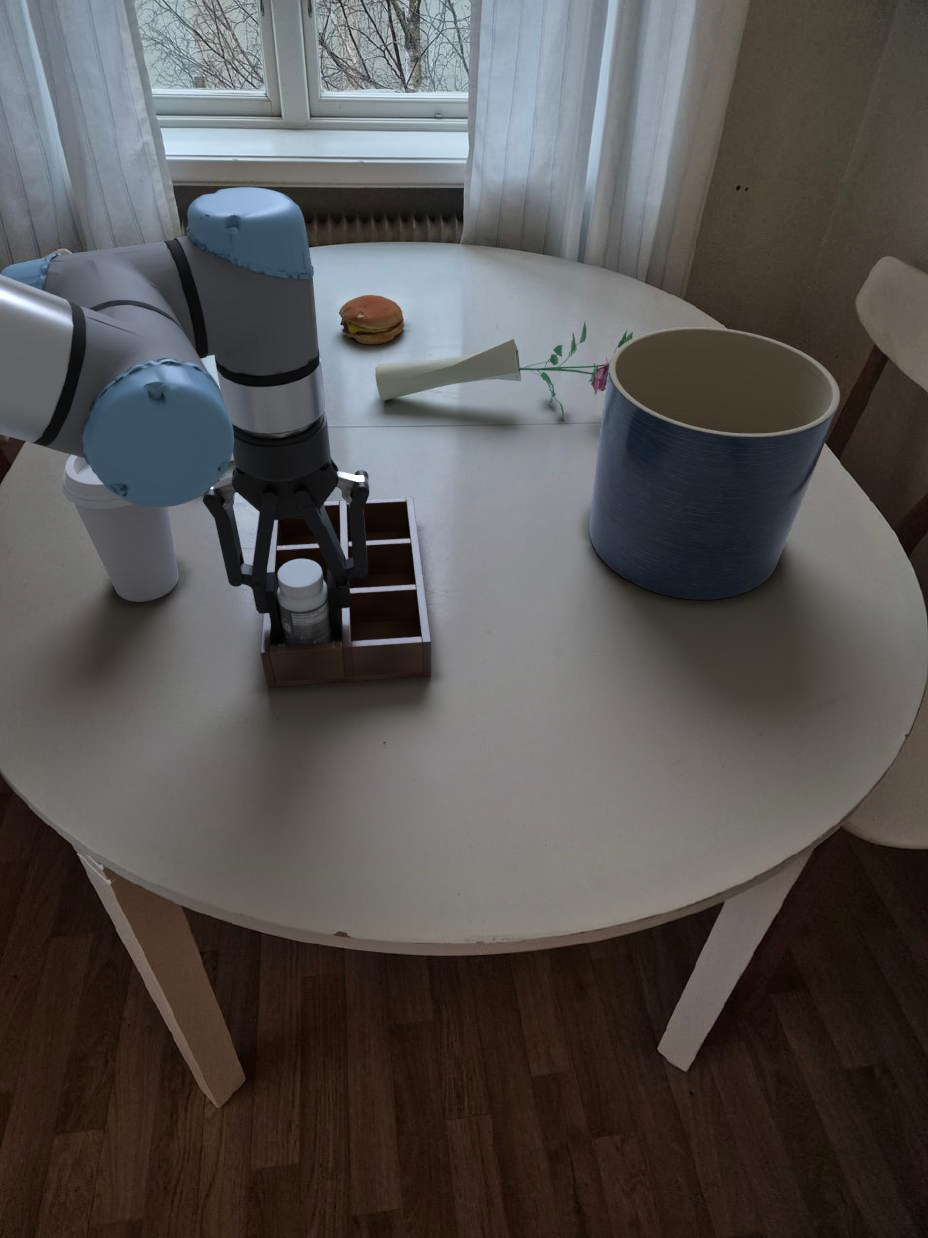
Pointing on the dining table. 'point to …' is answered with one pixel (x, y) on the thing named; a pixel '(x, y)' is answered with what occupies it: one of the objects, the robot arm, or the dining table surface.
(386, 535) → the grid
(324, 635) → the pill bottle
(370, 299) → the burger
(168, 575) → the coffee cup
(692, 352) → the planter
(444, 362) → the flower vase
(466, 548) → the dining table surface
